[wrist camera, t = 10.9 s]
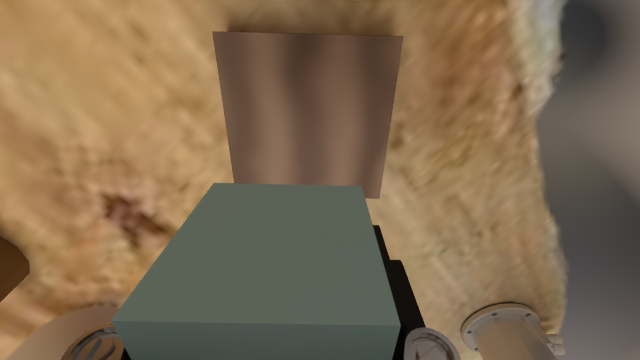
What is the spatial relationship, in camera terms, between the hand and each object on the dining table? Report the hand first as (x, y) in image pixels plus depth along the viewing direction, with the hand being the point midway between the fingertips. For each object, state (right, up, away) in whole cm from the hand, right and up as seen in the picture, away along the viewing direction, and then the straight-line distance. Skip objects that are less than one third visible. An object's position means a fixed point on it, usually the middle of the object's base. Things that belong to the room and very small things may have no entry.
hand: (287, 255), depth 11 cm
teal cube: (0, 0, +1) cm, 1 cm away
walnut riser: (0, +10, +19) cm, 22 cm away
